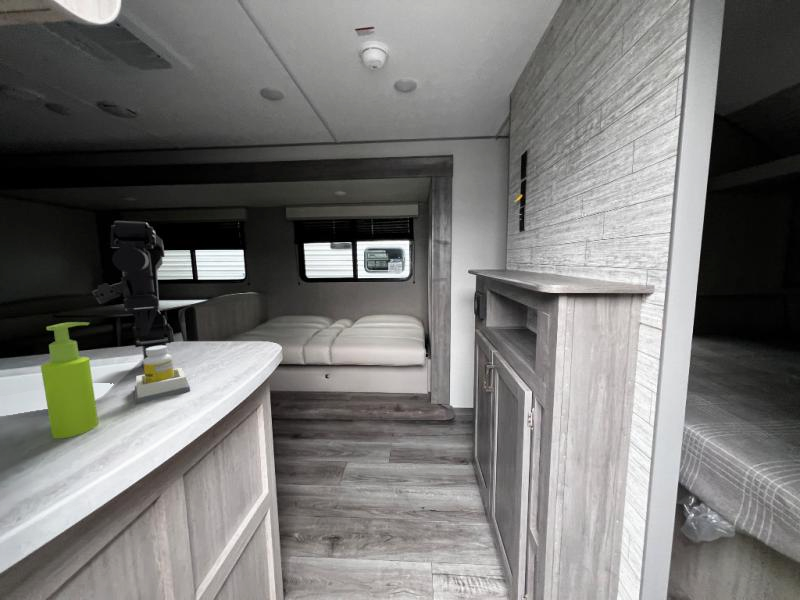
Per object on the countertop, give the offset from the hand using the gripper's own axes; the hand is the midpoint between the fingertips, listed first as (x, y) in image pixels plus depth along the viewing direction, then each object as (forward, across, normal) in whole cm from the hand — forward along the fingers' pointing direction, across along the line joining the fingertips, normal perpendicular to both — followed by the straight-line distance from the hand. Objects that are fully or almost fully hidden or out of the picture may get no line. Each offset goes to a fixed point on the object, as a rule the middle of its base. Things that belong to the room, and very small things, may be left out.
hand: (144, 331), depth 79 cm
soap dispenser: (+13, +22, -11) cm, 28 cm away
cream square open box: (+13, +11, +2) cm, 17 cm away
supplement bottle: (+12, +11, +2) cm, 17 cm away
